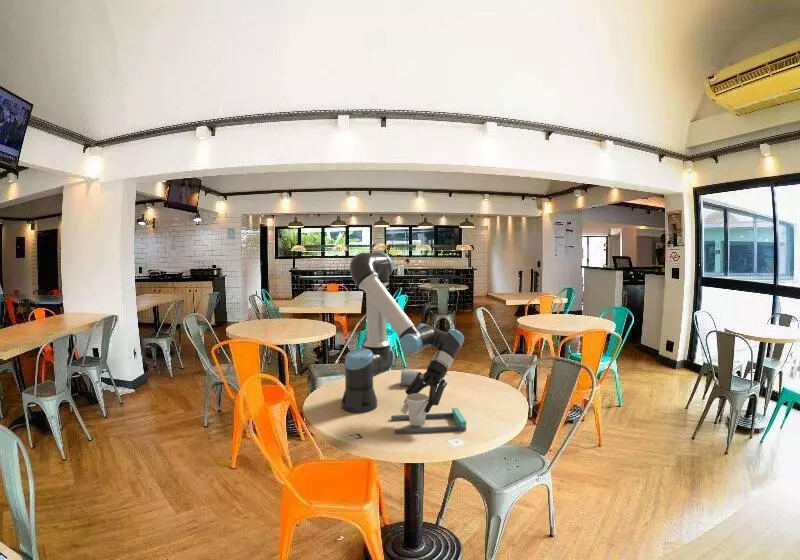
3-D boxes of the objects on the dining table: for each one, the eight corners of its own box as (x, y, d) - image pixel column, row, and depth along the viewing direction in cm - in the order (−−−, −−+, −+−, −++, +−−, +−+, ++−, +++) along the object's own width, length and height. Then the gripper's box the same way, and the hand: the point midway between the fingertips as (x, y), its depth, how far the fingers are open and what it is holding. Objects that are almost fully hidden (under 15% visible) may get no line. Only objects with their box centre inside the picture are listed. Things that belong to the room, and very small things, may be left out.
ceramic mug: (417, 387, 209) (417, 372, 209) (400, 387, 210) (400, 371, 209) (418, 381, 220) (418, 366, 219) (401, 380, 220) (401, 365, 220)
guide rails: (394, 434, 159) (394, 430, 159) (391, 419, 172) (391, 415, 172) (464, 430, 162) (464, 426, 162) (455, 416, 175) (456, 412, 175)
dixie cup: (415, 416, 172) (415, 391, 171) (432, 421, 166) (432, 396, 165) (401, 423, 165) (401, 397, 164) (419, 429, 160) (419, 402, 159)
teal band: (460, 430, 162) (460, 421, 161) (452, 416, 175) (452, 407, 175) (466, 430, 162) (466, 421, 162) (457, 416, 175) (457, 407, 175)
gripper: (465, 375, 167) (437, 429, 158) (425, 364, 182) (397, 412, 173) (456, 365, 163) (426, 419, 153) (416, 354, 178) (386, 403, 169)
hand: (411, 415), depth 163 cm, fingers closed on dixie cup, 8 cm apart
